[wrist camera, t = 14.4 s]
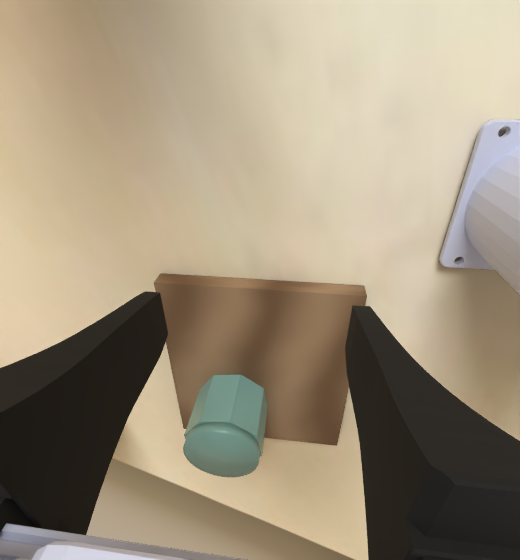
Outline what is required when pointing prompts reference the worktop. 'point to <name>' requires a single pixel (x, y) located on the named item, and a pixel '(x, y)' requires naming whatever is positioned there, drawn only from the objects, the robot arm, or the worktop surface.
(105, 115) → the worktop surface
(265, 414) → the cap
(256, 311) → the stud board
